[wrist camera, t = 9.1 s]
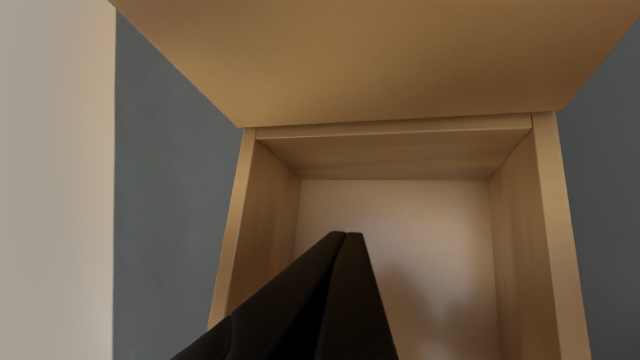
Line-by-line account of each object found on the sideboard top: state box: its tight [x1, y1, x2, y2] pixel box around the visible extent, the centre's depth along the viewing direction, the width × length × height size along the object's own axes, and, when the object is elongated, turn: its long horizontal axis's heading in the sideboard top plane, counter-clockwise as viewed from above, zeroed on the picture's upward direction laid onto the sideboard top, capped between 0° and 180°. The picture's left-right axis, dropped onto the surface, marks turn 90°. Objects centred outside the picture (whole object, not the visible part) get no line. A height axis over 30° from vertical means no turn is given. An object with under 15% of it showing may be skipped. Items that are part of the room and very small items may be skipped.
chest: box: [207, 111, 592, 360], centre depth 14 cm, size 16×14×8 cm
